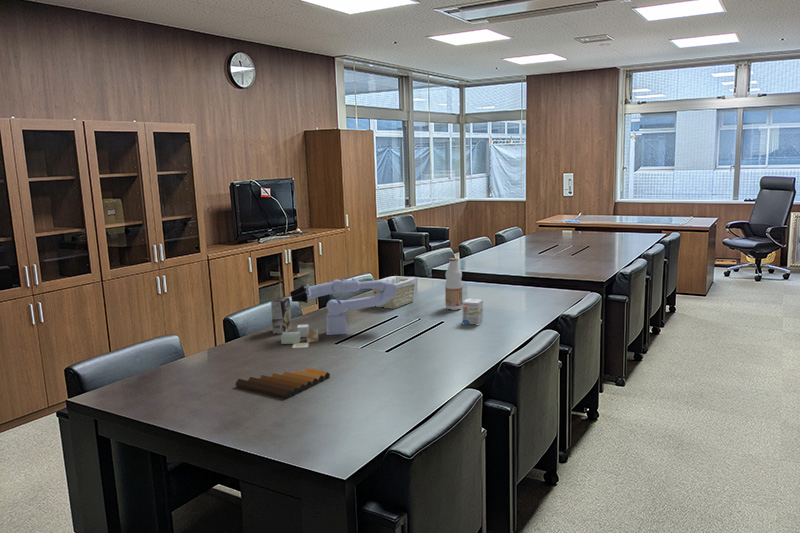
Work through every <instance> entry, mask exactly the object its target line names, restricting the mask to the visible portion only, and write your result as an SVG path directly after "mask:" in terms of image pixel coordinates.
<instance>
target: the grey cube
mask: <svg viewBox="0 0 800 533" xmlns="http://www.w3.org/2000/svg"><path fill="white" fill-rule="evenodd" d="M296 329H297V330H296V332H300V338H307V329H309V323H308V324H307V323H306V324H298V325H297V327H296Z"/></svg>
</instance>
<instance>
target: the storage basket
mask: <svg viewBox="0 0 800 533" xmlns="http://www.w3.org/2000/svg"><path fill="white" fill-rule="evenodd" d="M379 280H385V281H386V280H389V281H391V282H392V283H393V284H395V285H396V287H397V293H396V294H395V296H394V298H391V299H390V300H389V301H387V302H386V303H385V304H384V305H380V306H376V307H375V308H381V307H384V308H383V309H389V308H390V309H392V310H394V309H397V308H400V307H403V306H406V305H407V304H411V303H412V302H414V298H415V296H414V295H415V285H416V277H413V276H412V277H411V276H400V275H399V276H398V275H394V276H388V277H384V278H381V279H379ZM371 290H372V296H377V294H378V293H379V291H380V290H378V289H376V288H371ZM405 304H406V305H405Z"/></svg>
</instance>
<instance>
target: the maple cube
mask: <svg viewBox="0 0 800 533" xmlns="http://www.w3.org/2000/svg"><path fill="white" fill-rule="evenodd" d="M308 342H309V343H318V342H319V328H310V329H307V337H306V343H308Z"/></svg>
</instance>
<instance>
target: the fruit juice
mask: <svg viewBox="0 0 800 533" xmlns="http://www.w3.org/2000/svg"><path fill="white" fill-rule="evenodd" d="M448 262H449V264H448V267H447V269H446V271H445V284H444V287H445V288H444V289H445V292H444V293H445V296H444V298H445V309H446V308H447V309H446V310H448V309H451V310H450V311H458V310H457V309H460V310H462V309H461V308H462V302H463V301H464V300H463V281H462V277H463V272H462V271H461V269H460V265H459V263H458V262H459V258H457V257H450V258H448Z"/></svg>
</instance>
